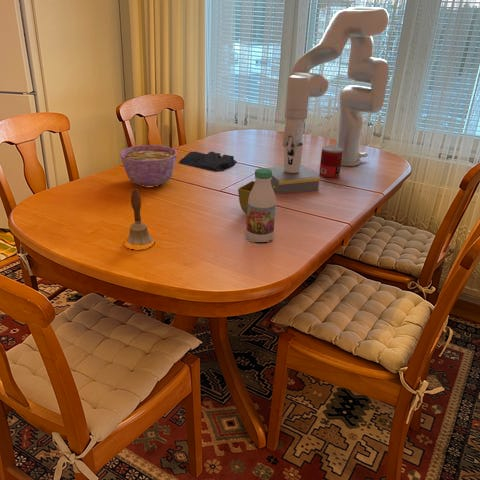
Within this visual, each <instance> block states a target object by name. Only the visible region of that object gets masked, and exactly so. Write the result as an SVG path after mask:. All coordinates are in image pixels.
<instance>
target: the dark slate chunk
mask: <svg viewBox="0 0 480 480" xmlns="http://www.w3.org/2000/svg"><path fill="white" fill-rule="evenodd" d="M178 163H179V164H180V165H185V166H189V167H193V168H197V169H202V170H207V171H211V172H215V173H217V172H224V171H226V170H229V169H232V167H234V166H235V165H236V164H237V163H238V162H237V160H235V157H234V156H233V155H229V154H223V155H222V156H221V153H219V152H215V151H209V152H207V153H203V152H199V151H190V152H188V153H187V154H186V155H185V156H184V157H183V158H181V159H180V161H179V162H178Z"/></svg>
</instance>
